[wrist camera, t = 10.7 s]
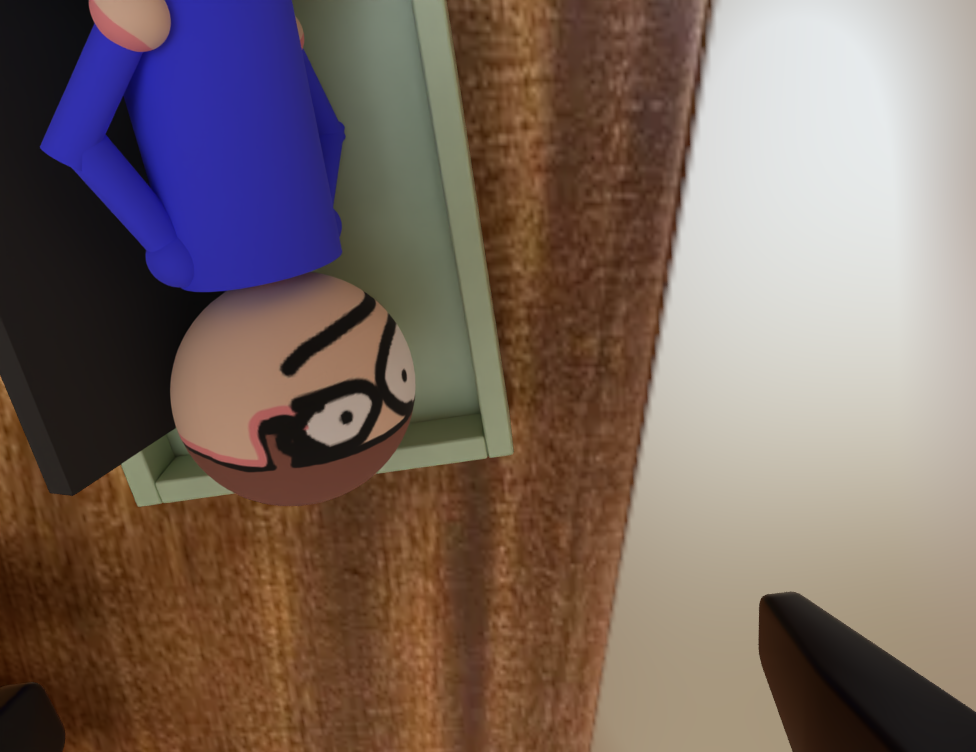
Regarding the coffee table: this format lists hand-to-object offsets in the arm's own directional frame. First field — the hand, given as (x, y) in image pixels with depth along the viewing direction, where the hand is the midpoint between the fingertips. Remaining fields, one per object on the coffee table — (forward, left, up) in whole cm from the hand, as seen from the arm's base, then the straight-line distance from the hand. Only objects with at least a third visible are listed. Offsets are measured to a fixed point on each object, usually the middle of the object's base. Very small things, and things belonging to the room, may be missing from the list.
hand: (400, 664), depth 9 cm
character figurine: (+4, -6, -12) cm, 13 cm away
